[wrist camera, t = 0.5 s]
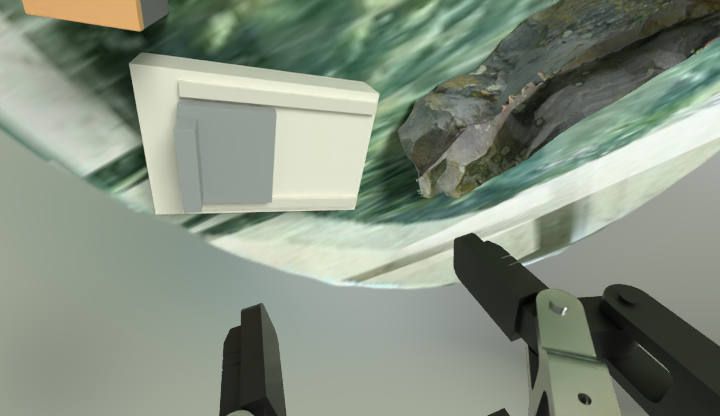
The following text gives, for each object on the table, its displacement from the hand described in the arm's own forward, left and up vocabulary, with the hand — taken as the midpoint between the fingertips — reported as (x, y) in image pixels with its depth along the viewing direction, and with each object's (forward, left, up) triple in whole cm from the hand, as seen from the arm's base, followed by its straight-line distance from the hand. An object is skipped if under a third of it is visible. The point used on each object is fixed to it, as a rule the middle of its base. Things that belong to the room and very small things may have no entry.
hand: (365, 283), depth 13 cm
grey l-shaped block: (+3, -5, -18) cm, 19 cm away
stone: (-6, +23, -22) cm, 32 cm away
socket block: (+3, -2, -22) cm, 22 cm away
